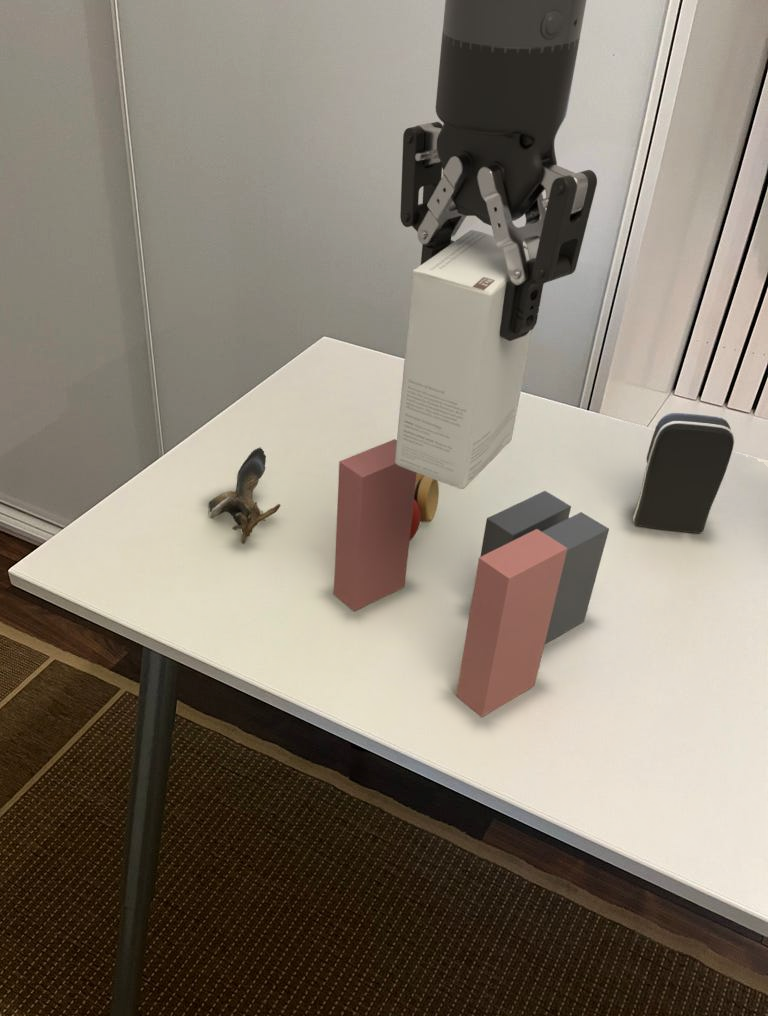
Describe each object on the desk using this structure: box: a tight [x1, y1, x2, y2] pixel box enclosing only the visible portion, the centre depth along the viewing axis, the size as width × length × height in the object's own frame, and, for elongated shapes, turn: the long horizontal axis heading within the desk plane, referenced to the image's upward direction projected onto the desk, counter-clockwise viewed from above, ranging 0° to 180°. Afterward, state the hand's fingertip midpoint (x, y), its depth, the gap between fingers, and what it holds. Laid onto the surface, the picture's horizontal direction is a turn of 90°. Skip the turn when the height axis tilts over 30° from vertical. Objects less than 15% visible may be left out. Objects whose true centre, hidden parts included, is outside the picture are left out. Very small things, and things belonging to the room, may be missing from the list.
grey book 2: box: [542, 511, 610, 645], centre depth 81 cm, size 7×3×10 cm, turn 126°
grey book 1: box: [479, 490, 572, 557], centre depth 84 cm, size 7×3×10 cm, turn 126°
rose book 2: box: [455, 529, 567, 718], centre depth 74 cm, size 6×3×14 cm, turn 126°
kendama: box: [410, 473, 440, 541], centre depth 97 cm, size 8×6×18 cm
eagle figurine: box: [208, 446, 281, 545], centre depth 95 cm, size 8×7×9 cm
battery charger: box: [632, 412, 735, 534], centre depth 93 cm, size 7×4×11 cm, turn 78°
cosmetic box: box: [395, 229, 533, 490], centre depth 67 cm, size 8×6×15 cm
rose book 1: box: [333, 438, 417, 612], centre depth 84 cm, size 6×3×14 cm, turn 126°
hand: (473, 316), depth 65 cm, fingers closed on cosmetic box, 7 cm apart
